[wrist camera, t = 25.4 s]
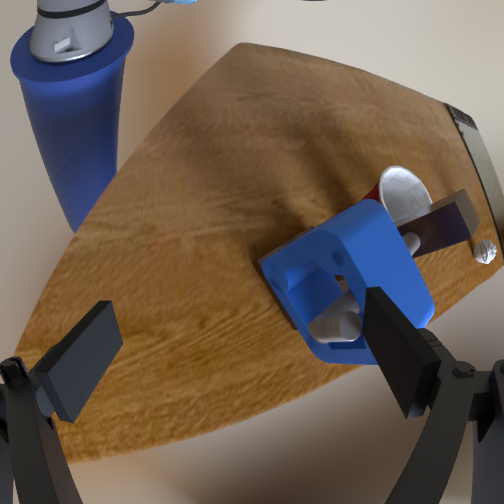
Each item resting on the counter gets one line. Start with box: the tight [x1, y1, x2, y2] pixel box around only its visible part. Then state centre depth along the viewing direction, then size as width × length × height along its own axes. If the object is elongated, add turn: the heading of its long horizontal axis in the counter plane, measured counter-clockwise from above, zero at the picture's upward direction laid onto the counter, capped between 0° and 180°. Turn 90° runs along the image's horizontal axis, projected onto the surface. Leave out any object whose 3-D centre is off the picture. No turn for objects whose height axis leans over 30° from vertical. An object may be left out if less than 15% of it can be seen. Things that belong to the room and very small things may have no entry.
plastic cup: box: [362, 166, 433, 222], centre depth 41 cm, size 11×11×12 cm
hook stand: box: [252, 189, 480, 344], centre depth 27 cm, size 19×10×25 cm, turn 124°
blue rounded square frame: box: [262, 199, 435, 365], centre depth 22 cm, size 5×10×10 cm, turn 34°
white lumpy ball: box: [474, 239, 496, 264], centre depth 59 cm, size 6×7×7 cm
